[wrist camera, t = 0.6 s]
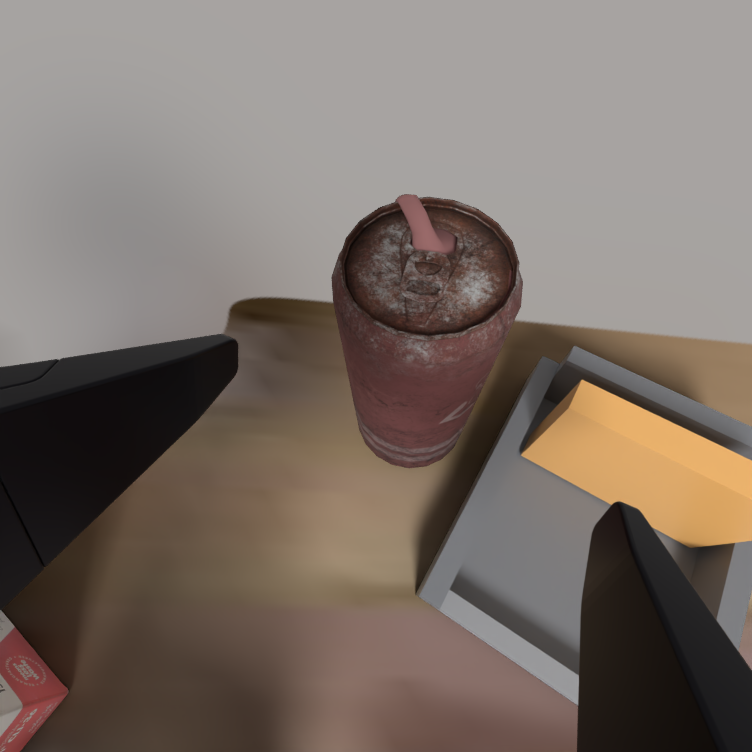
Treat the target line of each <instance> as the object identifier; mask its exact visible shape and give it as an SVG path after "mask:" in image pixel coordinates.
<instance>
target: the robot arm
mask: <svg viewBox="0 0 752 752" xmlns="http://www.w3.org/2000/svg"><path fill="white" fill-rule="evenodd" d="M237 370H238V343H237V341H236V340H235V339H233V338H231V337H228V336H226V335H223V334H217V335H211V336H204V337H198V338H191V339H185V340H178V341H172V342H165V343H159V344H152V345H146V346H139V347H133V348H126V349H120V350H113V351H107V352H100V353H94V354H87V355H81V356H74V357H68V358H62V359H60V360H57V359H55V360H48V361H42V362H35V363H28V364H20V365H14V366H6V367H0V611H1V610H2V609H3V608H4V607H5V606H6V605H7V604H8V603H9V602H10V601H11V600H12V599H13V598H14V597H15V596H16V595H17V594H18V593H19V592H20V591H21V590H23V589H24V588H25V587H26V586H27V585H28V584H29V583H30V582H31V581H32V580H33V579H34V578H35V577H36V576H37V575H38V574H39V573H40V572H41V571H42V570H43V569H44V567H46V566H47V565H48V564H49V563H50V562H51V561H52V560H53V559H54V558H55V557H56V556H57V555H59V554H60V553H61V552H62V551H63V550H64V549H65V548H66V547H67V546H68V545H69V544H70V543H71V542H72V541H73V540H74V539H75V538H76V537H77V536H78V535H79V534H80V533H81V532H82V531H83V530H84V529H85V528H87V527H88V526H89V525H90V524H91V523H92V522H93V521H94V520H95V519H96V518H97V517H98V516H99V515H100V514H101V513H102V512H103V511H104V510H105V509H106V508H107V507H108V506H109V505H110V504H111V503H112V502H114V501H115V500H116V499H117V498H118V497H119V496H120V495H121V494H122V493H123V492H124V491H125V490H126V489H127V488H128V487H129V486H130V485H131V484H132V483H133V482H134V481H135V480H136V479H137V478H138V477H139V476H140V475H142V474H143V473H144V472H145V471H146V470H147V469H148V468H149V467H150V466H151V465H152V464H153V463H154V462H155V461H156V460H157V459H158V458H159V457H160V456H161V455H162V454H163V453H164V452H165V451H166V450H167V449H169V448H170V447H171V446H172V445H173V444H174V443H175V442H176V441H177V440H178V439H179V438H180V437H181V436H182V435H183V434H184V433H185V432H186V431H187V430H188V429H189V428H190V427H191V426H192V425H193V424H194V423H195V422H196V421H197V420H198V419H199V418H200V417H201V416H202V415H203V414H204V412H205V411H206V410H207V409H208V408H209V406H210V405H211V404H212V403H213V402H214V401H215V399H216V398H217V397H218V396H219V395H220V393H221V392H222V391H223V390H224V389H225V387H226V386H227V385H228V384H229V383H230V381H231V380H232V379H233V378H234V376H235V375H236V373H237ZM577 752H752V670H751V669H750V667H749V666H748V664H747V663H746V661H745V660H744V659H743V657H742V656H741V654H740V653H739V651H738V650H737V649H736V647H735V646H734V644H733V643H732V641H731V640H730V639H729V637H728V636H727V634H726V633H725V631H724V630H723V628H722V627H721V626H720V624H719V623H718V621H717V620H716V618H715V617H714V616H713V614H712V613H711V611H710V610H709V608H708V607H707V606H706V604H705V603H704V601H703V600H702V598H701V597H700V596H699V594H698V593H697V591H696V590H695V588H694V587H693V585H692V584H691V583H690V581H689V580H688V578H687V577H686V575H685V574H684V573H683V571H682V570H681V568H680V567H679V565H678V564H677V563H676V561H675V560H674V558H673V557H672V555H671V554H670V552H669V551H668V550H667V548H666V547H665V545H664V544H663V542H662V541H661V540H660V538H659V537H658V535H657V534H656V532H655V531H654V530H653V528H652V527H651V525H650V524H649V522H648V521H647V520H646V518H645V517H644V515H643V514H642V512H641V511H640V510H639V509H637V508H635V507H633V506H630V505H628V504H626V503H623V502H621V501H617V502H615V503H613V504H612V505H611V506H610V507H609V509H608V510H607V511H606V512H605V514H604V515H603V516H602V517H601V518H600V520H599V521H598V522H597V523H596V525H595V526H594V528H593V531H592V535H591V541H590V547H589V554H588V560H587V567H586V573H585V580H584V586H583V593H582V601H581V615H580V653H579V691H578V729H577Z"/></svg>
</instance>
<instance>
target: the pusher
mask: <svg viewBox="0 0 752 752" xmlns="http://www.w3.org/2000/svg"><path fill="white" fill-rule="evenodd" d="M521 456H523V457H525V458H526V459H528V460H530V461H532V462H534V463H536V464H537V465H539V466H541V467H543V468H545V469H547V470H548V471H550V472H552V473H554V474H556V475H557V476H559V477H561V478H563V479H565V480H567V481H568V482H570V483H572V484H574V485H576V486H578V487H579V488H581V489H583V490H585V491H587V492H589V493H590V494H592V495H594V496H596V497H598V498H600V499H601V500H603V501H605V502H607V503H609V504H611V505H612V504H613V503H615V502H617V501H621V502H623V503H626V504H628V505H630V506H633V507H635V508H637V509H639V510H640V511H641V512H642V514H643V515H644V517H645V518H646V520H647V521H648V522H649V524H650V525H651V527H653V528H654V529H656V530H658V531H660V532H662V533H664V534H665V535H667V536H669V537H671V538H673V539H675V540H676V541H678V542H680V543H682V544H684V545H686V546H687V547H689V548H695V547H703V546H712V545H720V544H729V543H738V542H746V541H752V460H750V459H748V458H745V457H743V456H741V455H739V454H737V453H735V452H733V451H731V450H729V449H727V448H725V447H722V446H720V445H718V444H716V443H714V442H712V441H710V440H708V439H706V438H704V437H701V436H699V435H697V434H695V433H693V432H691V431H689V430H687V429H685V428H683V427H681V426H678V425H676V424H674V423H672V422H670V421H668V420H666V419H664V418H662V417H660V416H658V415H655V414H653V413H651V412H649V411H647V410H645V409H643V408H641V407H639V406H637V405H635V404H632V403H630V402H628V401H626V400H624V399H622V398H620V397H618V396H616V395H614V394H611V393H609V392H607V391H605V390H603V389H601V388H599V387H597V386H595V385H593V384H591V383H588V382H586V381H584V380H581V381H580V382H579V383H578V384H577V385H576V386H575V387H574V388H573V389H572V390H571V392H570V393H569V394H568V395H567V396H566V397H565V398H564V399H563V400H562V401H561V402H560V403H559V404H558V405H557V406H556V407H555V409H554V410H553V411H552V412H551V413H550V414H549V415H548V416H547V417H546V418H545V419H544V420H543V421H542V422H541V423H540V424H539V426H538V427H537V428H536V429H535V430H534V431H533V432H532V433H531V435H530V437H529V439H528V441H527V443H526V445H525V447H524V449H523V451H522V453H521Z"/></svg>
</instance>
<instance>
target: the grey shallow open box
mask: <svg viewBox="0 0 752 752" xmlns="http://www.w3.org/2000/svg"><path fill="white" fill-rule="evenodd" d="M581 380H584V381H586V382H588V383H591V384H593V385H595V386H597V387H599V388H601V389H603V390H605V391H607V392H609V393H611V394H614V395H616V396H618V397H620V398H622V399H624V400H626V401H628V402H630V403H632V404H635V405H637V406H639V407H641V408H643V409H645V410H647V411H649V412H651V413H653V414H655V415H658V416H660V417H662V418H664V419H666V420H668V421H670V422H672V423H674V424H676V425H678V426H681V427H683V428H685V429H687V430H689V431H691V432H693V433H695V434H697V435H699V436H701V437H704V438H706V439H708V440H710V441H712V442H714V443H716V444H718V445H720V446H722V447H725V448H727V449H729V450H731V451H733V452H735V453H737V454H739V455H741V456H743V457H745V458H748V459H750V460H752V427H751V426H749V425H746V424H744V423H742V422H740V421H738V420H735V419H733V418H731V417H729V416H727V415H725V414H722V413H720V412H718V411H716V410H714V409H711V408H709V407H707V406H705V405H703V404H701V403H698V402H696V401H694V400H692V399H690V398H688V397H685V396H683V395H681V394H679V393H677V392H674V391H672V390H670V389H668V388H666V387H664V386H661V385H659V384H657V383H655V382H653V381H650V380H648V379H646V378H644V377H642V376H640V375H637V374H635V373H633V372H631V371H629V370H626V369H624V368H622V367H620V366H618V365H616V364H613V363H611V362H609V361H607V360H605V359H603V358H600V357H598V356H596V355H594V354H592V353H589V352H587V351H585V350H583V349H581V348H579V347H576V346H573V348H572V349H571V350H570V352H569V353H568V354H567V355H566V357H565V358H564V359H563V361H562V362H561V363H560V364H559V363H557V362H555V361H553V360H551V359H549V358H547V357H544V356H542V358H541V359H540V360H539V362H538V363H537V365H536V366H535V368H534V369H533V371H532V372H531V374H530V375H529V377H528V378H527V380H526V382H525V384H524V386H523V388H522V390H521V392H520V394H519V396H518V398H517V399H516V401H515V403H514V405H513V407H512V409H511V411H510V413H509V415H508V417H507V419H506V421H505V423H504V425H503V426H502V428H501V430H500V432H499V434H498V436H497V438H496V440H495V442H494V444H493V446H492V448H491V450H490V452H489V453H488V455H487V457H486V459H485V461H484V463H483V465H482V467H481V469H480V471H479V473H478V475H477V477H476V479H475V480H474V482H473V484H472V486H471V488H470V490H469V492H468V494H467V496H466V498H465V500H464V502H463V504H462V506H461V508H460V509H459V511H458V513H457V515H456V517H455V519H454V521H453V523H452V525H451V527H450V529H449V531H448V533H447V535H446V536H445V538H444V540H443V542H442V544H441V546H440V548H439V550H438V552H437V554H436V556H435V558H434V560H433V562H432V563H431V565H430V567H429V569H428V571H427V573H426V575H425V577H424V579H423V581H422V583H421V585H420V587H419V589H418V590H417V592H416V594H415V595H417V596H418V597H420V598H421V599H422V600H424V601H425V602H427V603H428V604H430V605H431V606H433V607H434V608H436V609H437V610H439V611H440V612H441V613H443V614H444V615H446V616H447V617H449V618H450V619H452V620H453V621H455V622H456V623H458V624H459V625H460V626H462V627H463V628H465V629H466V630H468V631H469V632H471V633H472V634H474V635H475V636H477V637H478V638H480V639H481V640H482V641H484V642H485V643H487V644H488V645H490V646H491V647H493V648H494V649H496V650H497V651H499V652H500V653H501V654H503V655H504V656H506V657H507V658H509V659H510V660H512V661H513V662H515V663H516V664H518V665H519V666H520V667H522V668H523V669H525V670H526V671H528V672H529V673H531V674H532V675H534V676H535V677H537V678H538V679H539V680H541V681H542V682H544V683H545V684H547V685H548V686H550V687H551V688H553V689H554V690H556V691H557V692H558V693H560V694H561V695H563V696H564V697H566V698H567V699H569V700H570V701H572V702H573V703H575V704H576V705H577V706H578V691H579V653H580V615H581V601H582V593H583V586H584V580H585V573H586V567H587V560H588V554H589V547H590V541H591V535H592V531H593V528H594V526H595V525H596V523H597V522H598V521H599V520H600V518H601V517H602V516H603V515H604V514H605V512H606V511H607V510H608V509H609V507H610V506H611V504H609V503H607V502H605V501H603V500H601V499H600V498H598V497H596V496H594V495H592V494H590V493H589V492H587V491H585V490H583V489H581V488H579V487H578V486H576V485H574V484H572V483H570V482H568V481H567V480H565V479H563V478H561V477H559V476H557V475H556V474H554V473H552V472H550V471H548V470H547V469H545V468H543V467H541V466H539V465H537V464H536V463H534V462H532V461H530V460H528V459H526V458H525V457H523V456H521V453H522V451H523V449H524V447H525V445H526V443H527V441H528V439H529V437H530V435H531V433H532V432H533V431H534V430H535V429H536V428H537V427H538V426H539V424H540V423H541V422H542V421H543V420H544V419H545V418H546V417H547V416H548V415H549V414H550V413H551V412H552V411H553V410H554V409H555V407H556V406H557V405H558V404H559V403H560V402H561V401H562V400H563V399H564V398H565V397H566V396H567V395H568V394H569V393H570V392H571V390H572V389H573V388H574V387H575V386H576V385H577V384H578V383H579V382H580V381H581ZM652 528H653V527H652ZM653 530H654V531H655V532H656V534H657V535H658V537H659V538H660V540H661V541H662V542H663V544H664V545H665V547H666V548H667V550H668V551H669V552H670V554H671V555H672V557H673V558H674V560H675V561H676V563H677V564H678V565H679V567H680V568H681V570H682V571H683V573H684V574H685V575H686V577H687V578H688V580H689V581H690V583H691V584H692V585H693V587H694V588H695V590H696V591H697V593H698V594H699V596H700V597H701V598H702V600H703V601H704V603H705V604H706V606H707V607H708V608H709V610H710V611H711V613H712V614H713V616H714V617H715V618H716V620H717V621H718V623H719V624H720V626H721V627H722V628H723V630H724V631H725V633H726V634H727V636H728V637H729V639H730V640H731V641H732V643H733V644H734V646H735V647H736V649H737V650H739V646H740V641H741V636H742V632H743V627H744V623H745V618H746V614H747V609H748V604H749V600H750V595H751V591H752V541H746V542H738V543H729V544H720V545H712V546H703V547H695V548H689V547H687V546H686V545H684V544H682V543H680V542H678V541H676V540H675V539H673V538H671V537H669V536H667V535H665V534H664V533H662V532H660V531H658V530H656V529H654V528H653Z"/></svg>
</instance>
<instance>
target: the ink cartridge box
mask: <svg viewBox="0 0 752 752" xmlns="http://www.w3.org/2000/svg"><path fill="white" fill-rule="evenodd" d="M67 694H68V688H67V687H65V686H64V685H63V684H62V683H61V682H60V680H59V679H58V678H57V677H56V676H55V674H54V673H53V672H52V671H51V670H50V669H49V667H48V666H47V665H46V664H45V662H44V661H43V660H42V659H41V658H40V657H39V656H38V654H37V653H36V652H35V650H34V649H33V648H32V647H31V646H30V644H29V643H28V642H27V641H26V640H25V639H24V637H23V636H22V635H21V634H20V632H19V631H18V630H17V629H16V628H15V626H14V625H13V624H12V623H11V621H10V620H9V619H8V618H7V617H6V615H5V614H4V613H3V612H2V611H0V752H20V751H21V750H22V749H23V747H24V746H25V745H26V744H27V742H28V741H29V740H30V739H31V738H32V736H33V735H34V734H35V733H36V732H37V730H38V729H39V728H40V727H41V725H42V724H43V723H44V722H45V721H46V720H47V718H48V717H49V716H50V715H51V714H52V712H53V711H54V710H55V709H56V708H57V706H58V705H59V704H60V703H61V702H62V700H63V699H64V698H65V697H66V695H67Z"/></svg>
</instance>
